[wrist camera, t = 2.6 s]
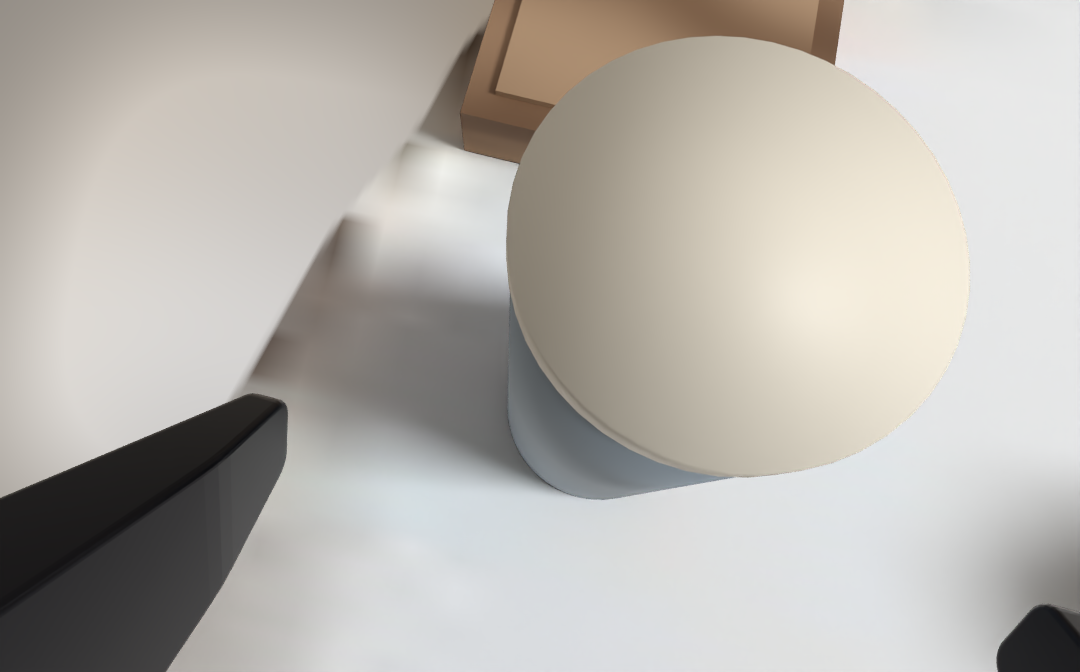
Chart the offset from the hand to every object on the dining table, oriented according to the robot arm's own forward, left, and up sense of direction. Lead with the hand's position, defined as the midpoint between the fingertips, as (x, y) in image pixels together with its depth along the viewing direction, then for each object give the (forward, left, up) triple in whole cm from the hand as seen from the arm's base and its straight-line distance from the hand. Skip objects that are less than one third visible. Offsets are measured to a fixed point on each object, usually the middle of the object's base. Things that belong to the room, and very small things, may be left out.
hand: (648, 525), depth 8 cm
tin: (+1, +3, -10) cm, 11 cm away
